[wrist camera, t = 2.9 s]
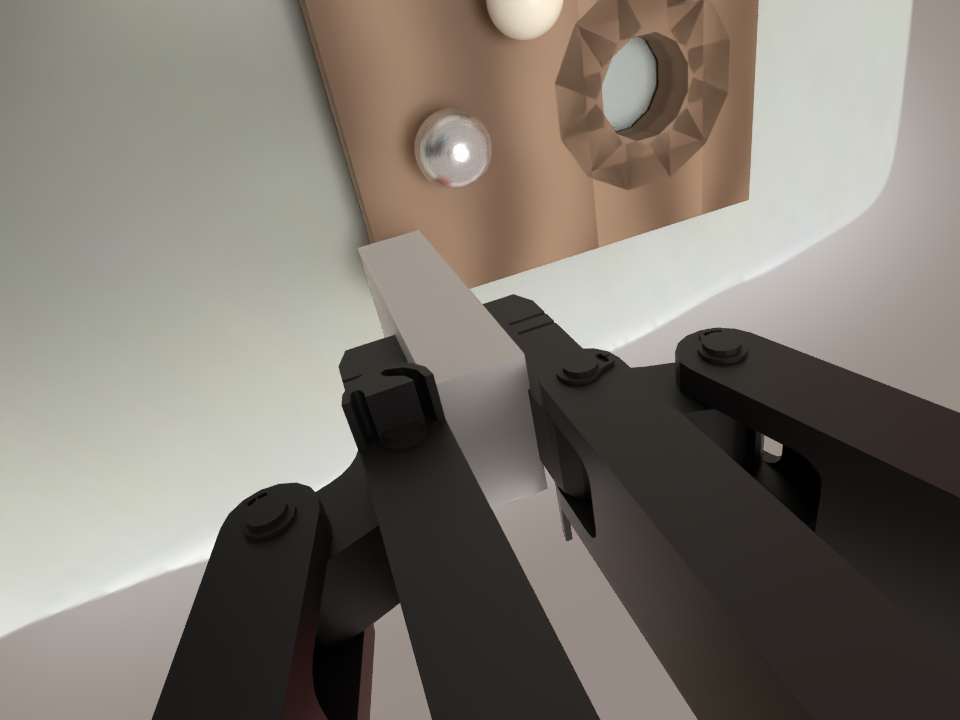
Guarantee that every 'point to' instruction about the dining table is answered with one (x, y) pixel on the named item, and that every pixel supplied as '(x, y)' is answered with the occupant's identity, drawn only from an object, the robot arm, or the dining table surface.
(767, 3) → the dining table surface
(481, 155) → the steel ball
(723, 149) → the board
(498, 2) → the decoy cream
